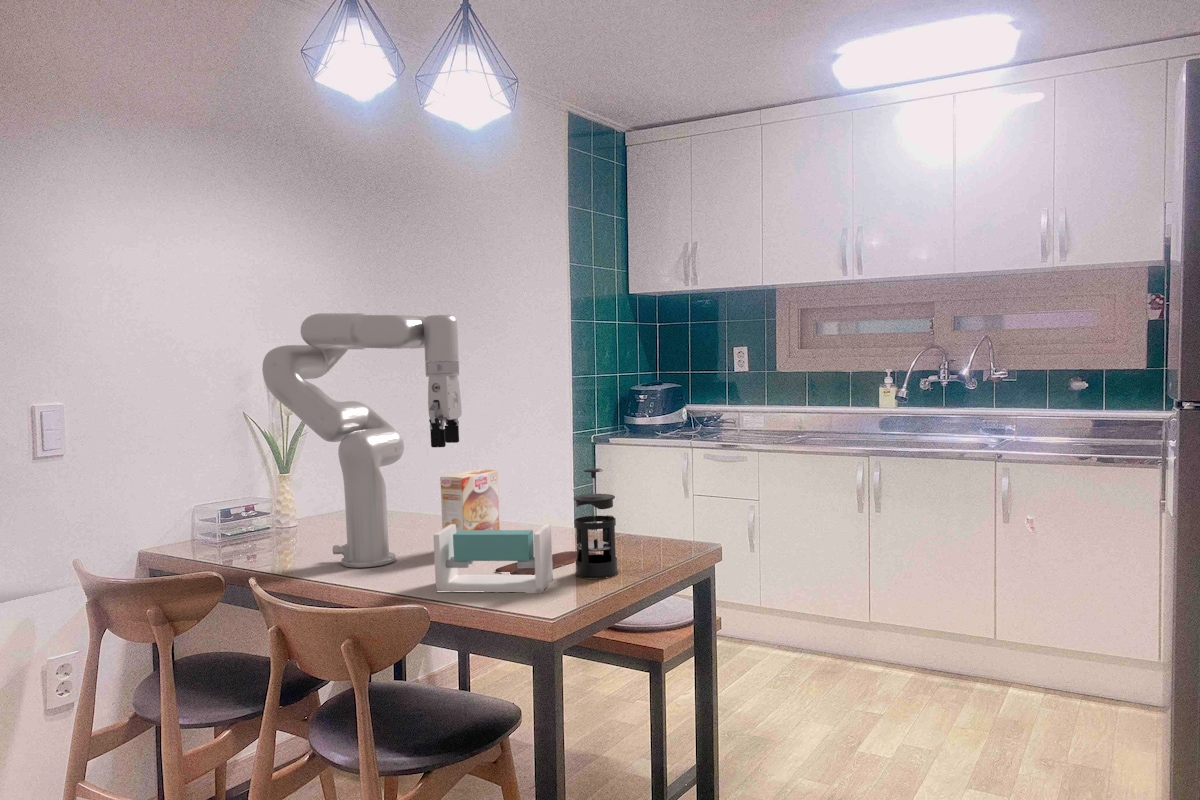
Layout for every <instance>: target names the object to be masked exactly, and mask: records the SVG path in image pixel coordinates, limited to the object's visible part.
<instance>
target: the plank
mask: <svg viewBox="0 0 1200 800" xmlns="http://www.w3.org/2000/svg"><path fill="white" fill-rule="evenodd" d="M453 549H454V561H473V562H517V561H530V559H531V558H532V557H535V555H534V530H533V529H510V530H509V529H501V530H459V531H458V532H456V533H455V534H453Z"/></svg>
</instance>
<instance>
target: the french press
mask: <svg viewBox="0 0 1200 800" xmlns="http://www.w3.org/2000/svg"><path fill="white" fill-rule="evenodd" d="M603 471H604V470H603V469H602V468H595V467H594V468H593V467H592V468H587V469H584V470H583V472H584V473H590V476H591V479H592V493H588V494H581V495H576V496H574V497H573V500H574V501H575V508H578V507H581V506H584V505H592V507H593V515H590V516H589V515H586V516H581V517H577V518H574V527H575V529H576V530H575V531H576V551H577V559H576V562H575V577H577V576H578V577H577V578H579V577H581V578H580V579H584V578H605V579H607V578H606V577H610V578H613V577H612V576H614V577H616V576H618V575H619V569H618V558H617V557H616V556H617V555H616V554H617V553H616V529H615V528H616V527H615V526H616V525H617V523H616V522H617V521H616V517H614V515H608V514H607V515H596V511H597V510H596V509H598V510H607V509H611V508H613V507H614V499H615V498H616V496H615V495H613V494H608V493H596V491H595V489H596V488H595V487H596V485H595V479H596V475H597V474H596V473H600V472H603ZM589 530H594V539H593V540H589ZM597 530H602V540H598V539H597ZM589 552H593V553H596V554H593V555H589ZM597 552H603V553H601V554H600V553H599V554H598V553H597ZM617 574H618V575H617ZM615 575H616V576H615Z"/></svg>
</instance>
